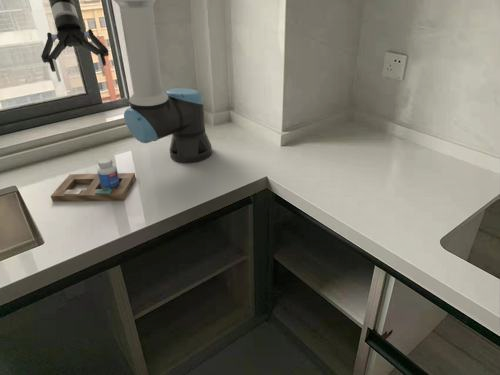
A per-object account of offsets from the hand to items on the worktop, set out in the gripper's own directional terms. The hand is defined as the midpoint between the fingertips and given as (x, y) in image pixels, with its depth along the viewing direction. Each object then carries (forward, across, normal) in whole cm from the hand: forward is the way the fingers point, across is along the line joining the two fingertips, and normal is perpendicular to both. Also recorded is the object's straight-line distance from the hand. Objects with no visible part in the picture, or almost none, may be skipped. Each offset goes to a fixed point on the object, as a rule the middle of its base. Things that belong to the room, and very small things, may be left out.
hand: (82, 76), depth 119 cm
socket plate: (+37, +5, -3) cm, 38 cm away
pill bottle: (+39, 0, -2) cm, 39 cm away
